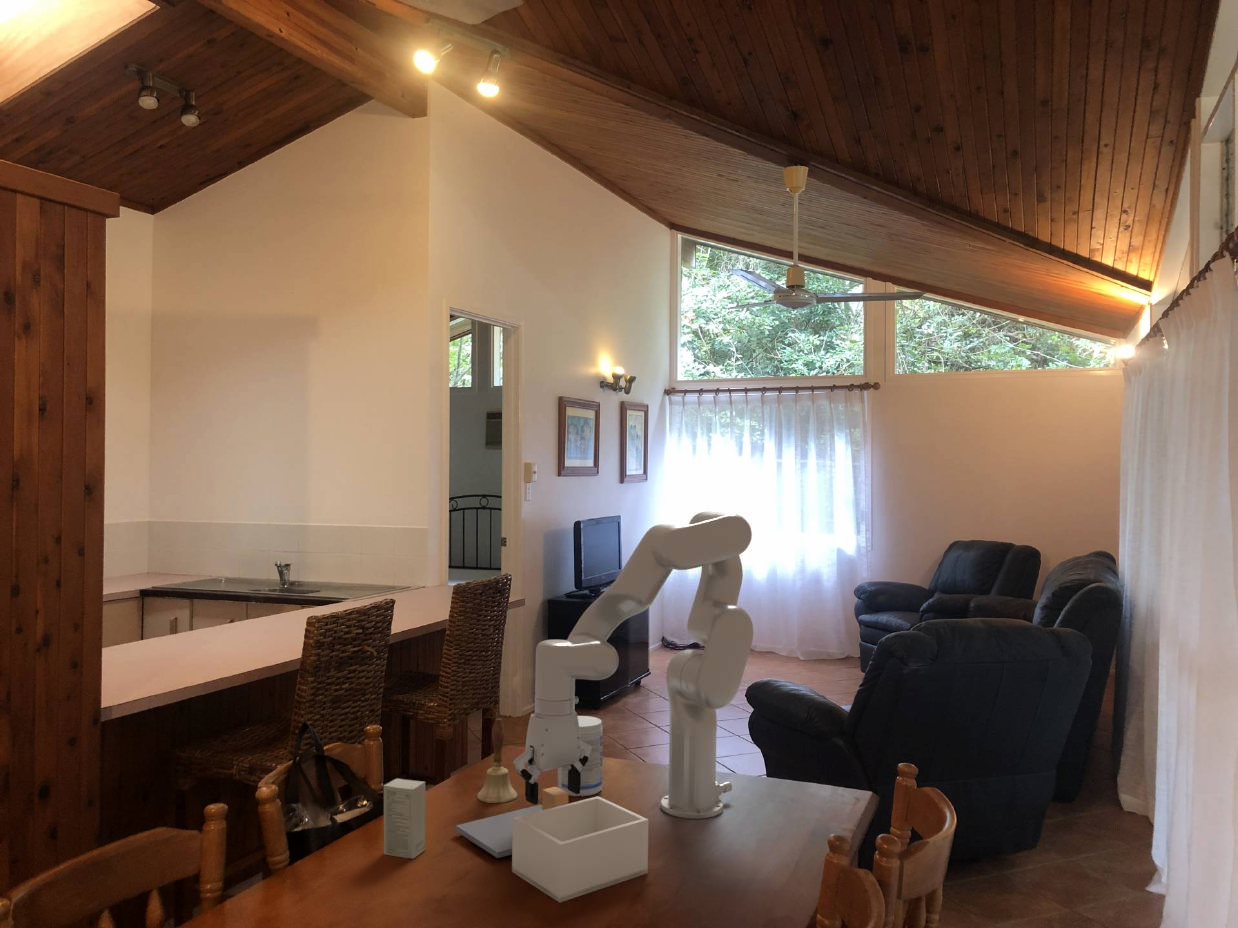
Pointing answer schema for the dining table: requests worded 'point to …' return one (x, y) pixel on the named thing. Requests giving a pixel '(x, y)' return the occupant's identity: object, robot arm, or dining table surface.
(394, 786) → the skincare box
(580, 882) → the parts tub
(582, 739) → the supplement tub
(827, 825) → the dining table surface
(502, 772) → the hand bell
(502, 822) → the grey board with block
